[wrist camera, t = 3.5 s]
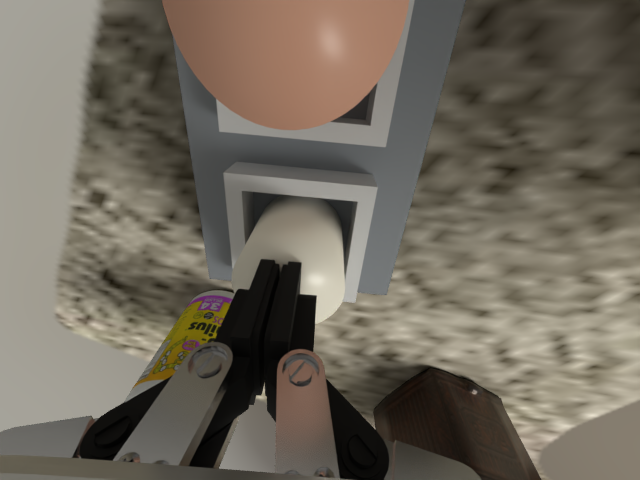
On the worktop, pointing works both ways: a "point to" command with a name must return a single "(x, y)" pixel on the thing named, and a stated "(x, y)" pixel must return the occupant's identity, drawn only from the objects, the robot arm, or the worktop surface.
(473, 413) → the dark brown coffee grinder
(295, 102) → the brown egg
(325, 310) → the knob cream
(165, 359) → the supplement bottle
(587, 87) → the worktop surface
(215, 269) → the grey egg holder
